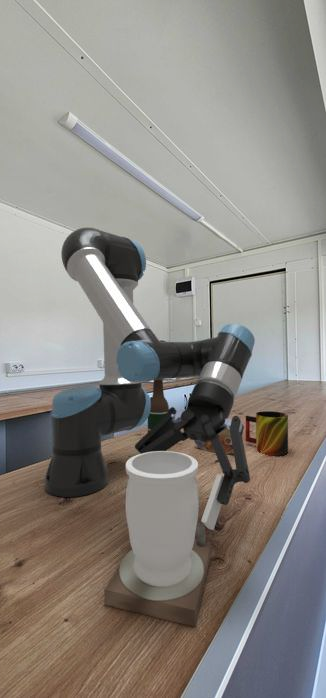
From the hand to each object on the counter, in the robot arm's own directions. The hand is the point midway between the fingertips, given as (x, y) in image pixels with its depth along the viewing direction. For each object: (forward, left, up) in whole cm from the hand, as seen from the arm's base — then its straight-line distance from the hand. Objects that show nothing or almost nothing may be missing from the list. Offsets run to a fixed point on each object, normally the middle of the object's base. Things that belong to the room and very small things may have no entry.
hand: (165, 510), depth 46 cm
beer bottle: (-21, +64, -10) cm, 69 cm away
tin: (0, +59, -10) cm, 60 cm away
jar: (0, -1, -8) cm, 8 cm away
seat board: (0, 0, -10) cm, 10 cm away
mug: (+15, +64, -10) cm, 66 cm away
